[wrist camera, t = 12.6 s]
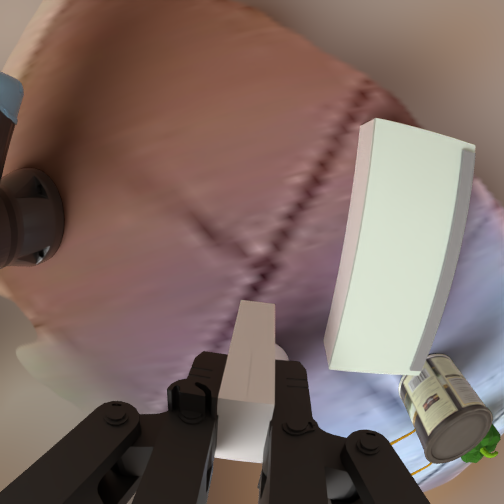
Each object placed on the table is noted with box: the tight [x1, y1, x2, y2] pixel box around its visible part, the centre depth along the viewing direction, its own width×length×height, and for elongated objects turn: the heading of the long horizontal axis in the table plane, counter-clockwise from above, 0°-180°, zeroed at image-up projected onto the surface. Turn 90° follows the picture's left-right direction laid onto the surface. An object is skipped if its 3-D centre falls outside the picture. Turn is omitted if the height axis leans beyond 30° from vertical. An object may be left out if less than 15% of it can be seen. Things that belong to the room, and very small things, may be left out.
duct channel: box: [323, 119, 374, 365], centre depth 35 cm, size 12×28×6 cm, turn 174°
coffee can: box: [399, 354, 493, 464], centre depth 36 cm, size 10×10×14 cm
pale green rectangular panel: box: [329, 118, 475, 376], centre depth 31 cm, size 12×28×1 cm, turn 173°
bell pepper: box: [461, 424, 500, 463], centre depth 40 cm, size 8×8×10 cm
